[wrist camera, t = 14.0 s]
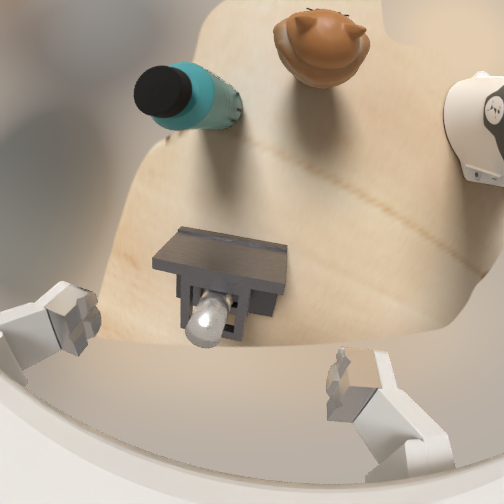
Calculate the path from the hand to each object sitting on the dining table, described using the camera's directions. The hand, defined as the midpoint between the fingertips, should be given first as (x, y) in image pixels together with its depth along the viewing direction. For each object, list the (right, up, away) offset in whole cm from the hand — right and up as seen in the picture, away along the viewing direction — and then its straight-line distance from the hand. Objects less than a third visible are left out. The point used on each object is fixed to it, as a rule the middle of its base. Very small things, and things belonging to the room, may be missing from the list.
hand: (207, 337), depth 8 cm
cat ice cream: (+9, +26, +23) cm, 36 cm away
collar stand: (-2, 0, +36) cm, 36 cm away
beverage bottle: (-3, +22, +26) cm, 34 cm away
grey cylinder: (-2, -1, +34) cm, 35 cm away
